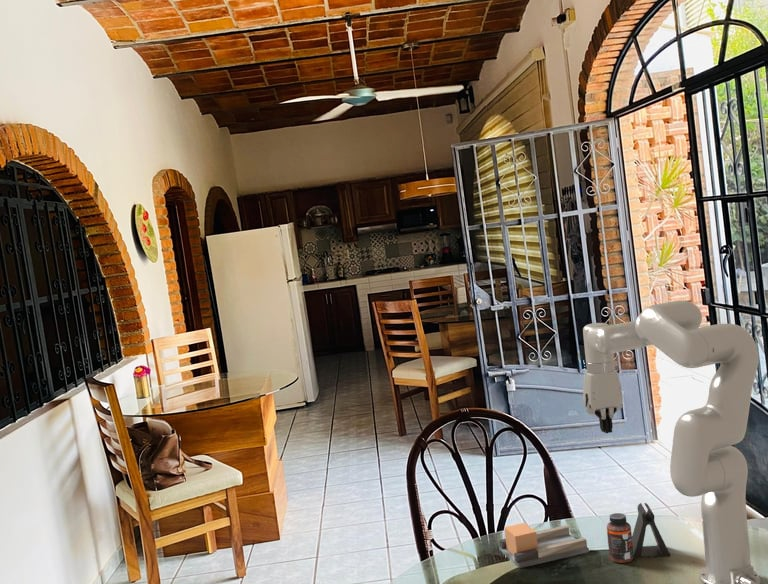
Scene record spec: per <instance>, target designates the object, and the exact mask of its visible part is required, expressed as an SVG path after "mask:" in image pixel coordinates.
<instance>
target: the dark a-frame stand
mask: <svg viewBox="0 0 768 584" xmlns="http://www.w3.org/2000/svg"><path fill="white" fill-rule="evenodd" d="M644 506H645V508H646V509H647V511H646V509H645V508H644ZM647 526H649V527H650V530H651V532H652V535H653V537H654V539H655V543H656V545H647V546H644V540H645V536H646V530H647ZM632 544H633V554H634V555H633V556H634V558H633V559H646V558H647V559H648V558H665V557H667V558H668V557H671V554H670V551H669V549H668V547H667V546H666V544H665V541H664V539H663V536H662V535H661V533H660V531H659V528H658V526H657V525H656V523H655V514H654V512H653V511H652V509H651V507H650V506H649V504H648V503H646V502H644V505H643V504H642V502H641V503H639V504H637V517H636V522H635V525H634V528H633V532H632Z"/></svg>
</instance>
